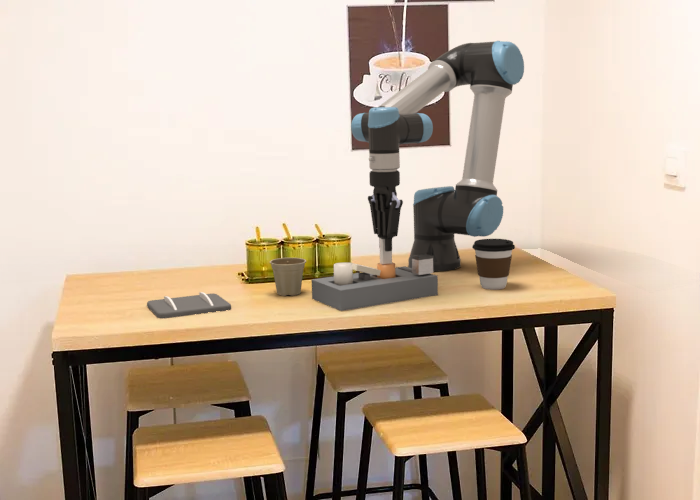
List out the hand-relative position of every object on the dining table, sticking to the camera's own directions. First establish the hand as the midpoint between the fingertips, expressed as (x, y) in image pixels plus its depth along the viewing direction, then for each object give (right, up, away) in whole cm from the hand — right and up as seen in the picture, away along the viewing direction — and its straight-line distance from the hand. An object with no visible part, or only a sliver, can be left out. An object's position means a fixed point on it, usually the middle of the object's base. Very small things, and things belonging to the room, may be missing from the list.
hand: (385, 263), depth 232 cm
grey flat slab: (-49, -11, -6) cm, 50 cm away
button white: (-11, -6, -5) cm, 13 cm away
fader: (+9, -2, +1) cm, 10 cm away
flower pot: (-25, -8, +6) cm, 27 cm away
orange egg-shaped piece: (0, -6, +1) cm, 6 cm away
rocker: (-6, -1, -3) cm, 6 cm away
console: (-3, -8, 0) cm, 9 cm away
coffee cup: (+28, -6, +8) cm, 30 cm away
